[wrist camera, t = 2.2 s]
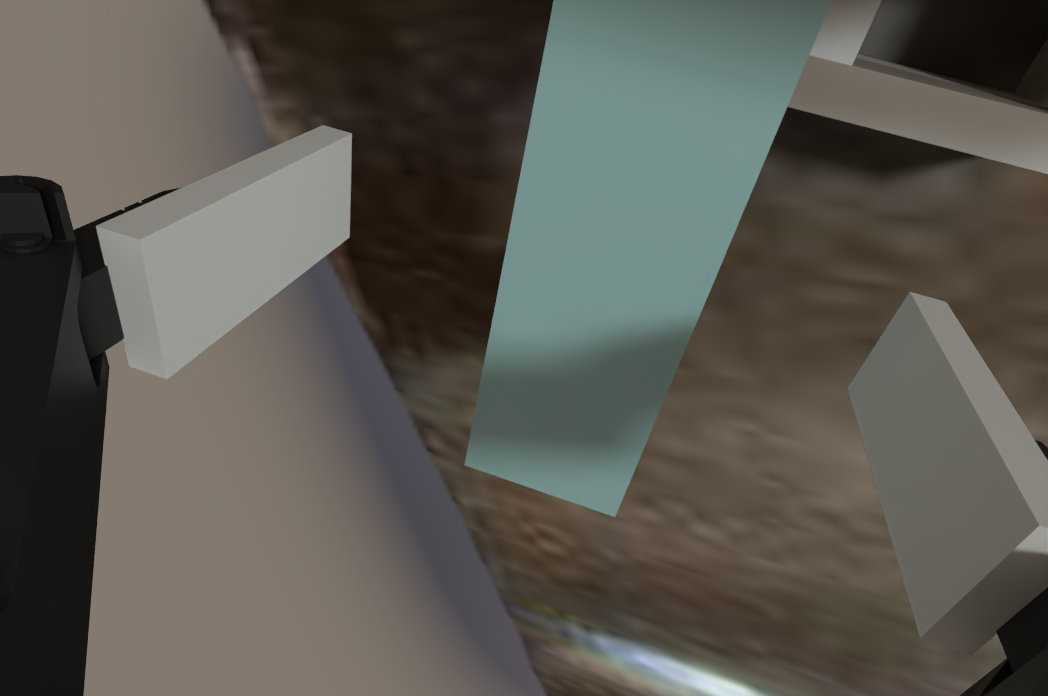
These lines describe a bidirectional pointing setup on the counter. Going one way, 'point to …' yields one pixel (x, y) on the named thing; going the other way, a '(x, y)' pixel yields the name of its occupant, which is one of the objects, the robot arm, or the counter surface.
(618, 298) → the rail
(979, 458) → the robot arm
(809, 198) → the counter surface
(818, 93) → the post
